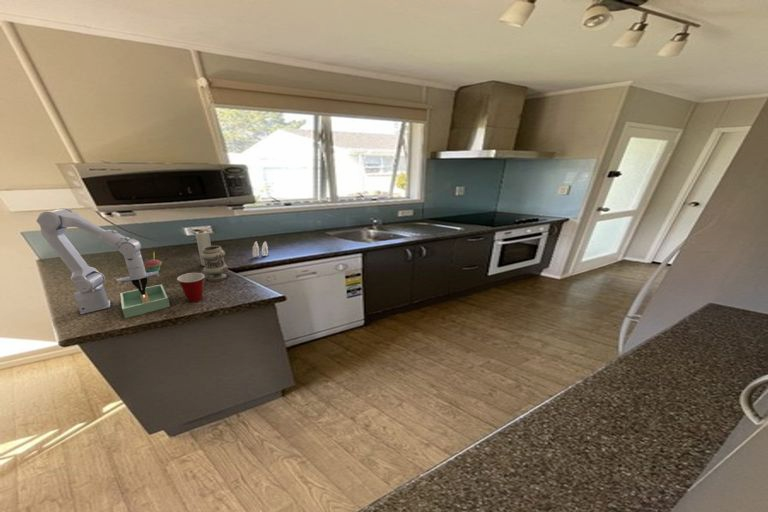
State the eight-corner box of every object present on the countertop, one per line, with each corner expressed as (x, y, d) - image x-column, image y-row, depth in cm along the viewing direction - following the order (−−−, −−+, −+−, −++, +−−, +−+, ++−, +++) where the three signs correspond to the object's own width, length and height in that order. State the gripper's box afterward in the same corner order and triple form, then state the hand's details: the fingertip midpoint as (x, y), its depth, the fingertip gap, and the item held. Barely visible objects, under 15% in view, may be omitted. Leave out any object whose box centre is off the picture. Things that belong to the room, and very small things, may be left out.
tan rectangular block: (143, 309, 125) (139, 291, 125) (142, 307, 137) (138, 291, 136) (151, 307, 127) (148, 290, 127) (150, 306, 139) (146, 290, 138)
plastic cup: (201, 304, 132) (196, 280, 129) (177, 304, 131) (171, 281, 128) (213, 294, 143) (208, 271, 139) (190, 294, 142) (185, 272, 138)
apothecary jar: (206, 275, 165) (201, 245, 159) (230, 272, 170) (225, 243, 164) (203, 283, 154) (197, 251, 149) (228, 280, 159) (223, 249, 153)
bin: (124, 318, 120) (122, 309, 118) (122, 301, 133) (120, 293, 132) (170, 306, 130) (168, 297, 128) (163, 292, 143) (161, 284, 142)
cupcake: (162, 267, 175) (157, 248, 171) (164, 271, 169) (159, 252, 165) (144, 270, 169) (139, 251, 165) (146, 275, 163) (140, 255, 159)
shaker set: (254, 259, 192) (252, 243, 188) (250, 258, 194) (248, 242, 191) (270, 255, 201) (268, 239, 198) (266, 253, 203) (264, 238, 200)
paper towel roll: (200, 264, 181) (193, 231, 175) (210, 262, 186) (204, 230, 179) (204, 267, 177) (197, 233, 170) (214, 265, 181) (208, 232, 174)
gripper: (154, 260, 135) (161, 286, 139) (113, 267, 125) (122, 295, 130) (156, 264, 130) (163, 291, 134) (114, 272, 120) (122, 301, 125)
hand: (143, 293), depth 131 cm, fingers closed
